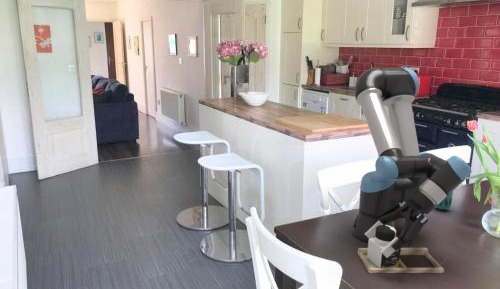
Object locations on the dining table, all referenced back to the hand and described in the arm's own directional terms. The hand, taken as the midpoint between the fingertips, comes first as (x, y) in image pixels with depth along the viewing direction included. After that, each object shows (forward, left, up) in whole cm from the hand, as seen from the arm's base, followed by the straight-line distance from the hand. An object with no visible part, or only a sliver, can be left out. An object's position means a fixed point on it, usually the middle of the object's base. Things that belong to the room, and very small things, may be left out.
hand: (375, 245), depth 125 cm
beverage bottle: (-10, +62, -6) cm, 63 cm away
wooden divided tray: (+5, +7, -6) cm, 10 cm away
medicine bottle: (+2, +2, -6) cm, 7 cm away
